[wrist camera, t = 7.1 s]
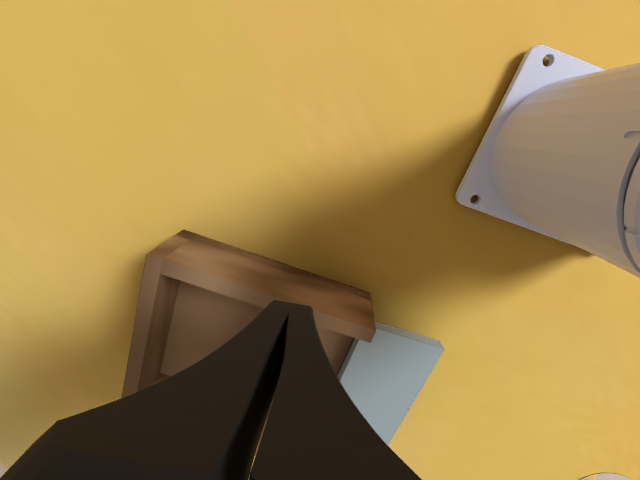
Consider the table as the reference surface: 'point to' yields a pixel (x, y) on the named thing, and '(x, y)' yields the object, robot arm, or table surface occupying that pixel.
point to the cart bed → (228, 306)
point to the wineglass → (605, 477)
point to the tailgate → (388, 375)
